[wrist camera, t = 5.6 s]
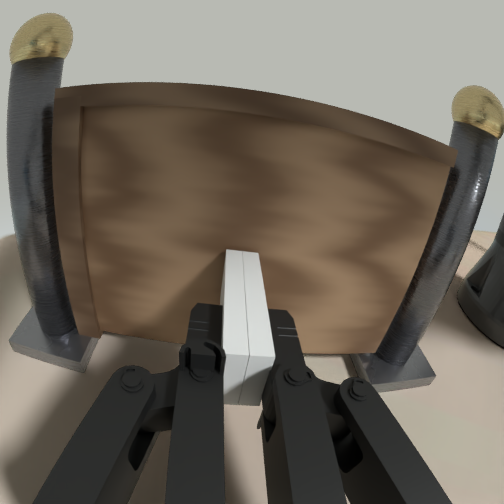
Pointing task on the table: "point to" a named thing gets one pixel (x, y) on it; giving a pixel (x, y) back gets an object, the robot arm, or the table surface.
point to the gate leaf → (237, 208)
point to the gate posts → (47, 244)
